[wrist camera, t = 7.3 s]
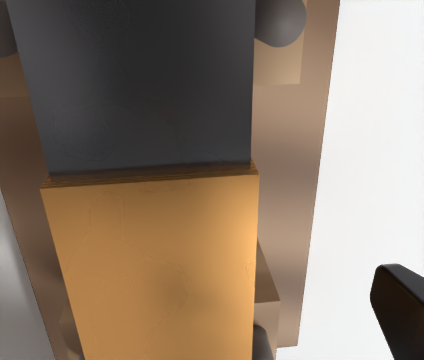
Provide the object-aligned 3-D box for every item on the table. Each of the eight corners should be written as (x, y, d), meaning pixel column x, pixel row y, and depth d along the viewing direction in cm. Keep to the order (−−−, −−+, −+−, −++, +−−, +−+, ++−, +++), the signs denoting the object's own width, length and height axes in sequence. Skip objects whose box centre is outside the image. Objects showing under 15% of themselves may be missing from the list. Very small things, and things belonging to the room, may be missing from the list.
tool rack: (291, 330, 20) (338, 457, 15) (64, 354, 19) (23, 501, 13) (354, -240, 10) (583, -522, 4) (-120, -256, 9) (-576, -651, 3)
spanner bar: (226, 376, 13) (245, 500, 10) (137, 386, 13) (127, 518, 10) (224, -100, 7) (274, -182, 4) (50, -100, 7) (-62, -188, 3)
